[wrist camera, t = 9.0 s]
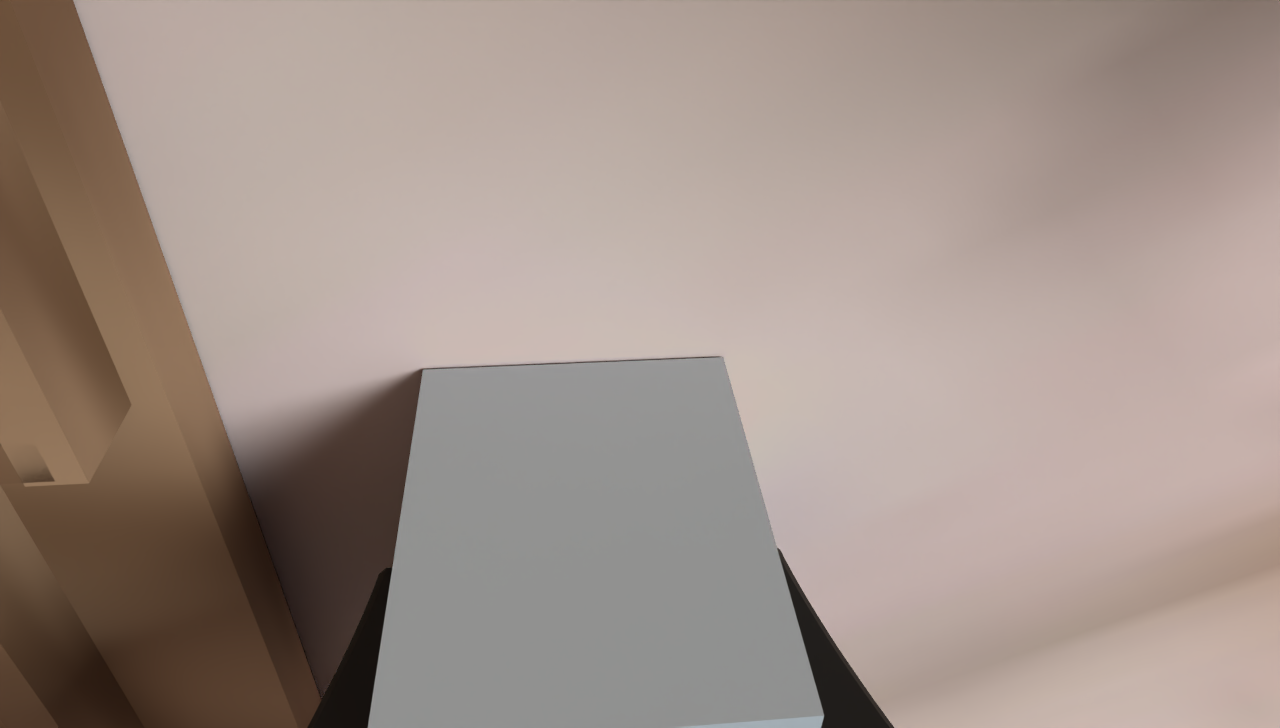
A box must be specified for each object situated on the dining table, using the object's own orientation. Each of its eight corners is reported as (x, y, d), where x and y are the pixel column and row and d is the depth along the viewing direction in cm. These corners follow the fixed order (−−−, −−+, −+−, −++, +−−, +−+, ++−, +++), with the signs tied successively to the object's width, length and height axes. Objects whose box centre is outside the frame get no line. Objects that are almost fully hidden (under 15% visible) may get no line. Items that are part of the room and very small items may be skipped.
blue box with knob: (695, 637, 15) (773, 1096, 10) (469, 653, 15) (438, 1136, 10) (723, 357, 11) (867, 864, 7) (423, 369, 11) (338, 914, 6)
